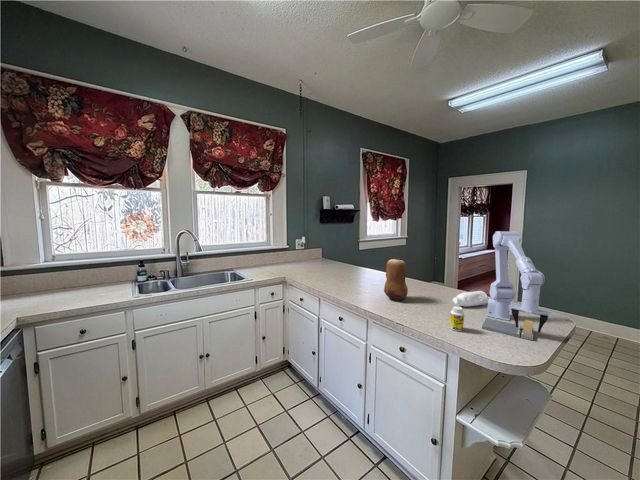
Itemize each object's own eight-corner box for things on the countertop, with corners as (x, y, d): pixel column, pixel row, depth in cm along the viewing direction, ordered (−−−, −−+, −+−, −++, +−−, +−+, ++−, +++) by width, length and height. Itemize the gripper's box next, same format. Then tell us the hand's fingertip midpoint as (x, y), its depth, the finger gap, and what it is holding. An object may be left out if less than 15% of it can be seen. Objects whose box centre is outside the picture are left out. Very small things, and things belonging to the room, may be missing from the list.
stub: (520, 337, 113) (522, 323, 112) (522, 328, 122) (523, 315, 121) (532, 340, 110) (534, 326, 110) (533, 330, 120) (534, 317, 119)
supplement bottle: (452, 331, 120) (453, 309, 118) (448, 326, 125) (449, 305, 124) (465, 332, 119) (466, 310, 118) (460, 326, 124) (461, 305, 123)
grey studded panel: (481, 328, 122) (482, 325, 122) (486, 320, 131) (486, 317, 131) (519, 337, 113) (519, 334, 113) (521, 328, 122) (521, 325, 122)
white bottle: (449, 305, 153) (449, 291, 152) (475, 302, 158) (476, 289, 157) (459, 310, 145) (460, 296, 144) (487, 306, 150) (488, 293, 149)
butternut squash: (404, 296, 169) (405, 257, 166) (409, 303, 155) (411, 261, 153) (382, 295, 170) (383, 257, 167) (385, 302, 157) (386, 261, 154)
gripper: (509, 298, 116) (506, 327, 118) (553, 305, 107) (549, 337, 108) (510, 294, 121) (508, 322, 123) (552, 300, 112) (549, 331, 114)
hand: (527, 329), depth 116 cm, fingers open, 7 cm apart
